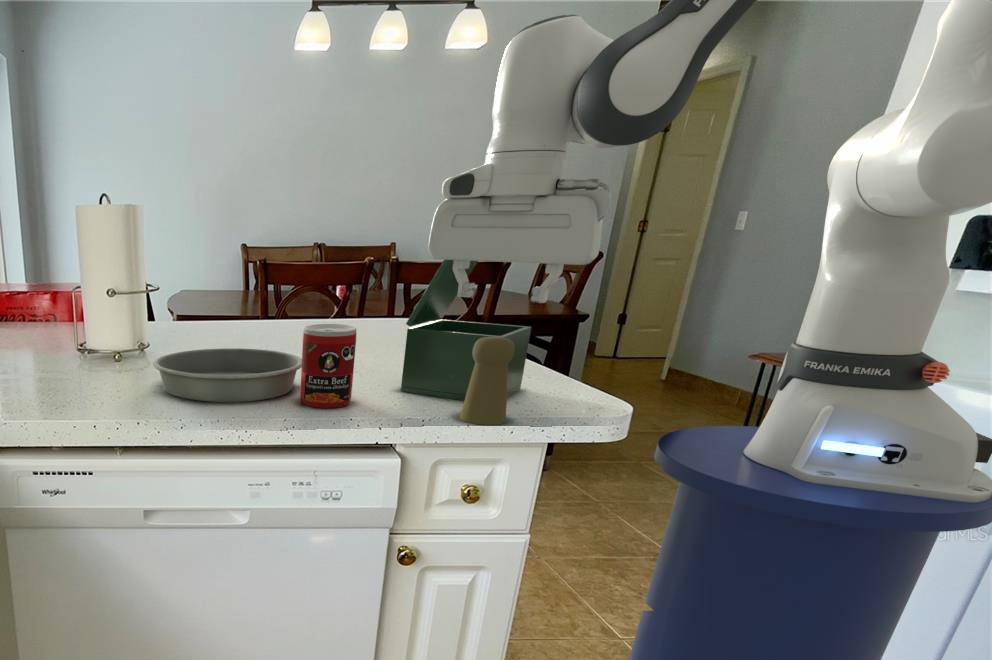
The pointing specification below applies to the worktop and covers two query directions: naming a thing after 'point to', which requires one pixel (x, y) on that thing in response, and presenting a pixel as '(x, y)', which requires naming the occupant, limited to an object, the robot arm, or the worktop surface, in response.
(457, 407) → the worktop surface
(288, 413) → the worktop surface
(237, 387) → the cake pan
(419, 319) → the bin lid
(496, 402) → the tan pawn
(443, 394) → the waste bin
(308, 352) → the canned food
